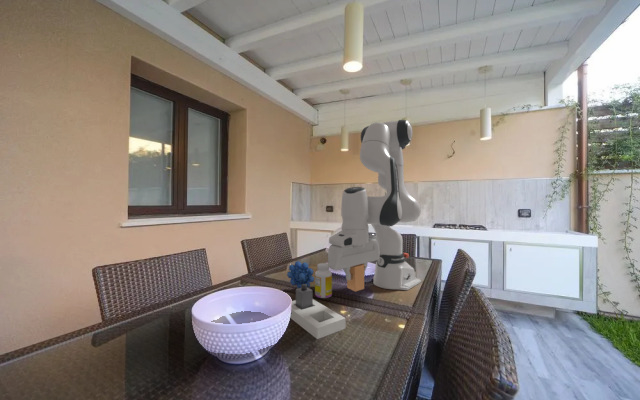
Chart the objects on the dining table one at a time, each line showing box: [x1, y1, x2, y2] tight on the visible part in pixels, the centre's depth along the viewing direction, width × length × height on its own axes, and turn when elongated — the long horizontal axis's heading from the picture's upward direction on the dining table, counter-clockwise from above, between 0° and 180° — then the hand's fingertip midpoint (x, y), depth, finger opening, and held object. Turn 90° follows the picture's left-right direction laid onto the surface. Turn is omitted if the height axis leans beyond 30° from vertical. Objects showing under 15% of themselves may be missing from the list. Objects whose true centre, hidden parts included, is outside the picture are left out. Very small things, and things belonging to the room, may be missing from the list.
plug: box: [346, 264, 365, 293], centre depth 87 cm, size 4×4×10 cm
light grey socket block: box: [290, 298, 347, 340], centre depth 81 cm, size 10×20×4 cm, turn 35°
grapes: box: [286, 260, 315, 289], centre depth 110 cm, size 12×7×12 cm, turn 104°
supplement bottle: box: [314, 262, 333, 299], centre depth 102 cm, size 7×7×13 cm
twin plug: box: [295, 284, 314, 310], centre depth 85 cm, size 4×4×10 cm
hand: (355, 277), depth 87 cm, fingers closed on plug, 4 cm apart
